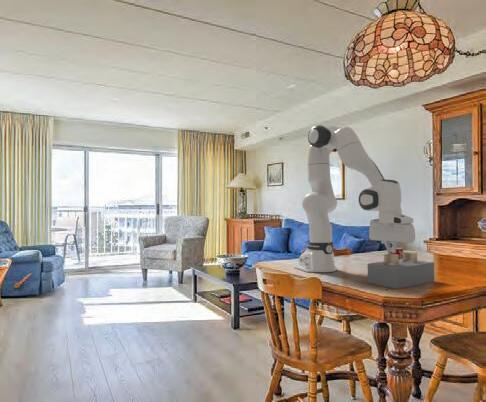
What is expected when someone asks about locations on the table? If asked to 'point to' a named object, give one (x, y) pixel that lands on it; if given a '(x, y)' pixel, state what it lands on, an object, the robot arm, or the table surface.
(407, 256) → the peg
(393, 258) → the peg
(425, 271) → the block
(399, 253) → the soda can
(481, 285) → the table surface
